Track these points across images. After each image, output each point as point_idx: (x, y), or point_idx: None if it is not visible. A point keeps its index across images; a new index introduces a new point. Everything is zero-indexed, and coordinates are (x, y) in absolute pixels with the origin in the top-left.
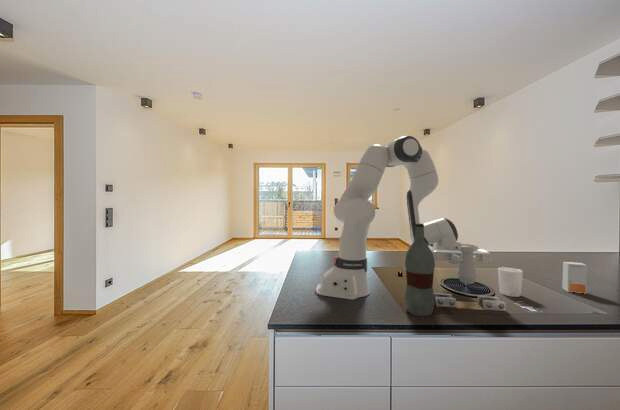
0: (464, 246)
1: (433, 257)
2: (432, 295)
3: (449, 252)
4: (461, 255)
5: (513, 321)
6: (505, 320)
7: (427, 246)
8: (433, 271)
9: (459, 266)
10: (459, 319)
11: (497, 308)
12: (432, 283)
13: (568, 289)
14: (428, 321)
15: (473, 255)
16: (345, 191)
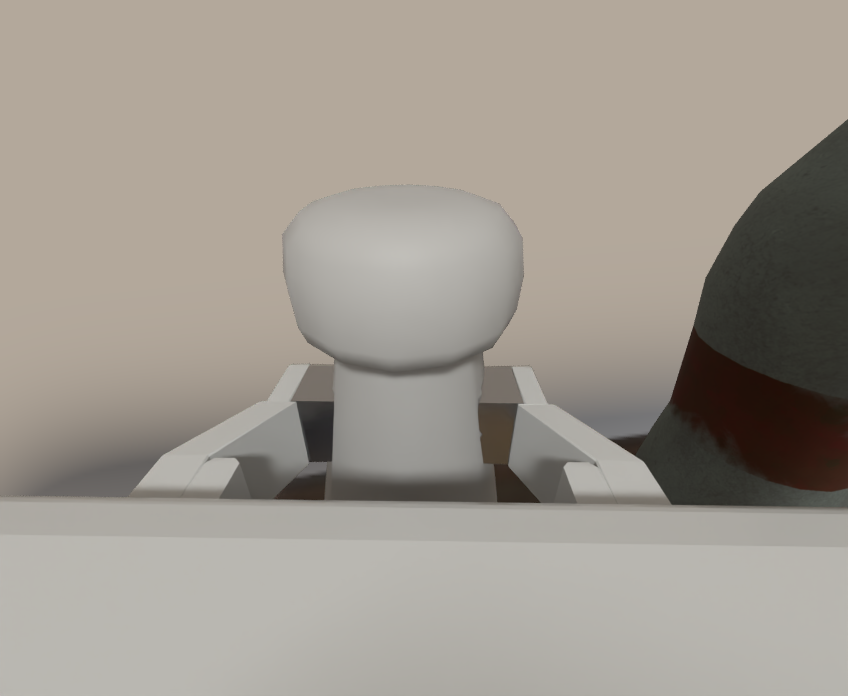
0: (463, 191)
1: (738, 227)
2: (651, 430)
3: (742, 507)
4: (473, 399)
5: (289, 493)
6: (317, 497)
7: (830, 134)
8: (696, 319)
9: (495, 495)
10: (510, 479)
11: None
12: (676, 389)
13: None
14: (625, 449)
15: (209, 454)
16: None
